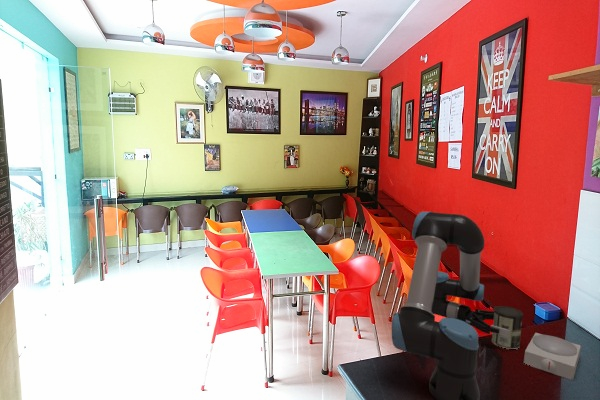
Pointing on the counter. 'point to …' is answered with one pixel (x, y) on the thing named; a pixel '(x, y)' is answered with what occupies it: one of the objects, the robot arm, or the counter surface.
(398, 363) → the counter surface
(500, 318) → the coffee can
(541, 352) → the kitchen scale
